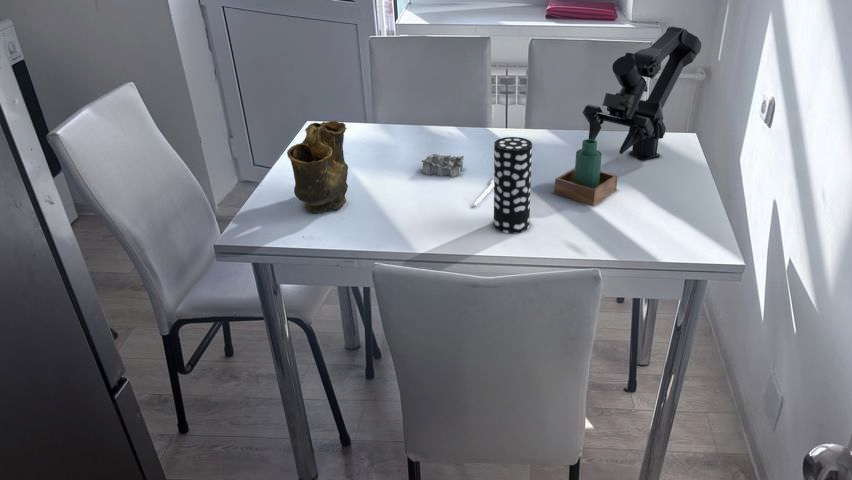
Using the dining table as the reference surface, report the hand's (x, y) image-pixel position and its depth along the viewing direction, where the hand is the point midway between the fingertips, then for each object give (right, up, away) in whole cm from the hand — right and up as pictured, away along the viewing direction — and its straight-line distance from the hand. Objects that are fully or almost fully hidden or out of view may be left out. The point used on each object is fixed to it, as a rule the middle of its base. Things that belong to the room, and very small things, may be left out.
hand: (604, 149), depth 181 cm
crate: (-5, -11, -1) cm, 12 cm away
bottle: (-5, -11, -1) cm, 12 cm away
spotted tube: (-24, -21, -17) cm, 37 cm away
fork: (-30, -11, -1) cm, 32 cm away
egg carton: (-43, -4, +10) cm, 44 cm away
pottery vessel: (-70, -15, -8) cm, 72 cm away
